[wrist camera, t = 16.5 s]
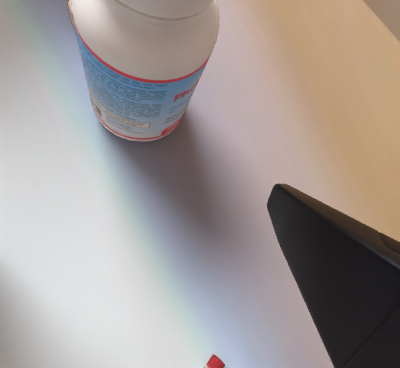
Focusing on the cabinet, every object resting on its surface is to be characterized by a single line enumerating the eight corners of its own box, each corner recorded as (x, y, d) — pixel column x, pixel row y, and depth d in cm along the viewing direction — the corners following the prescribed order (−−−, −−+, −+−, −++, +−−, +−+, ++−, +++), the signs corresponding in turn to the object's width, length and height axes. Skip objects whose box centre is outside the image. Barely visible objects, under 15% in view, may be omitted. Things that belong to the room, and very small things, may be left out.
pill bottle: (179, 150, 19) (253, 32, 8) (85, 137, 17) (29, -28, 7) (184, 73, 20) (253, -113, 10) (97, 54, 19) (66, -191, 8)
